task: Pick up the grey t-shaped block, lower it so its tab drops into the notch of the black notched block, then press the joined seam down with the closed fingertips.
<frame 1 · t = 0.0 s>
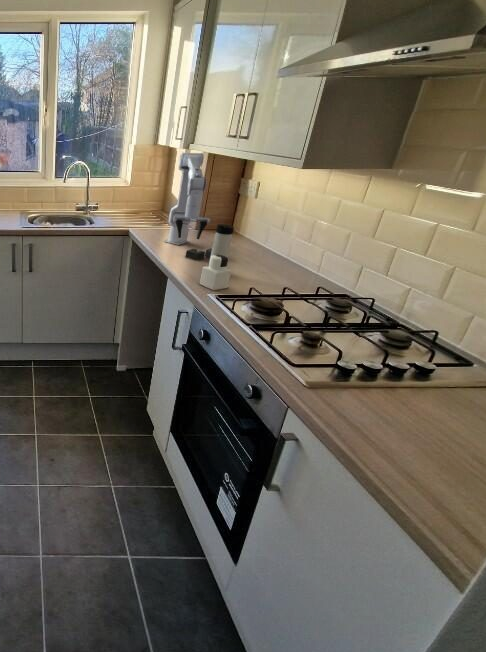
hand: (188, 238, 181), 11 cm above the countertop, tool pointing down, fingers open, 7 cm apart
black notched block: (194, 257, 190), on the countertop
grey t-shaped block: (212, 256, 192), on the countertop
white block with post: (213, 286, 158), on the countertop
travel mug: (215, 272, 173), on the countertop
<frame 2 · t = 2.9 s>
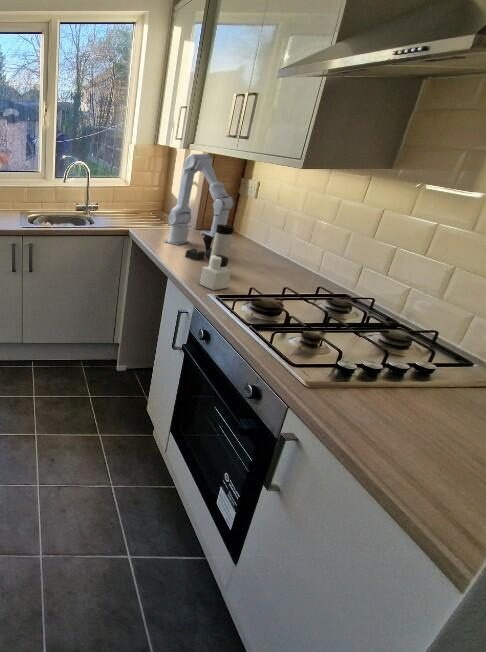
hand: (212, 253, 192), 1 cm above the countertop, tool pointing down, fingers closed on grey t-shaped block, 5 cm apart
grey t-shaped block: (212, 256, 192), on the countertop, touching gripper
everything else where it was.
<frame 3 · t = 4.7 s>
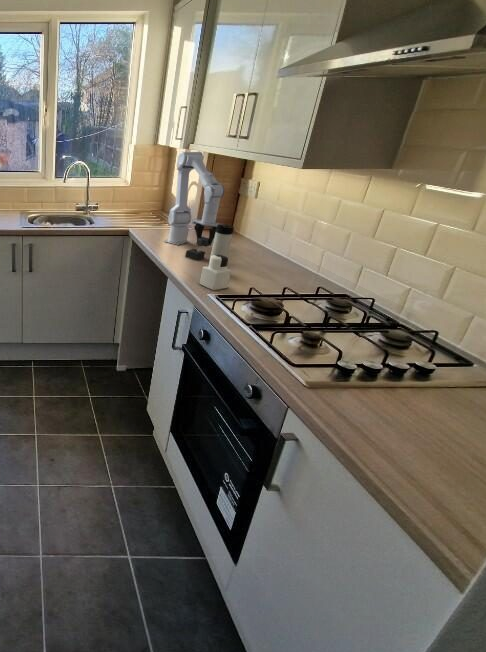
hand: (204, 241, 190), 7 cm above the countertop, tool pointing down, fingers closed on grey t-shaped block, 5 cm apart
grey t-shaped block: (203, 244, 191), point 5 cm above the countertop, touching gripper
everything else where it was.
when the fingers open (1 cm above the countertop, at t = 6.7 s): grey t-shaped block stays where it is, on the countertop.
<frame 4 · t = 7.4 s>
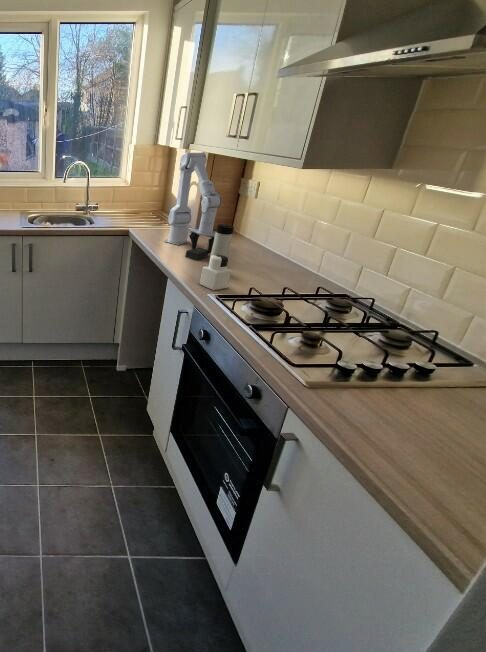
hand: (201, 251, 192), 2 cm above the countertop, tool pointing down, fingers open, 7 cm apart
grey t-shaped block: (200, 255, 193), on the countertop
everything else where it was.
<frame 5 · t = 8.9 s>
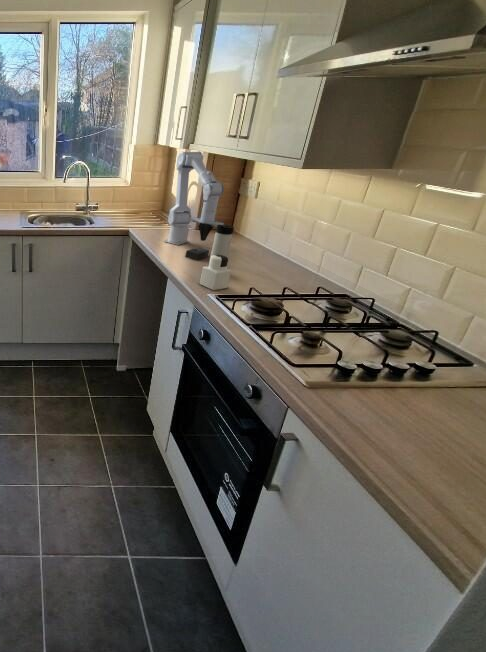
hand: (203, 240, 190), 7 cm above the countertop, tool pointing down, fingers closed
nothing on the countertop moved.
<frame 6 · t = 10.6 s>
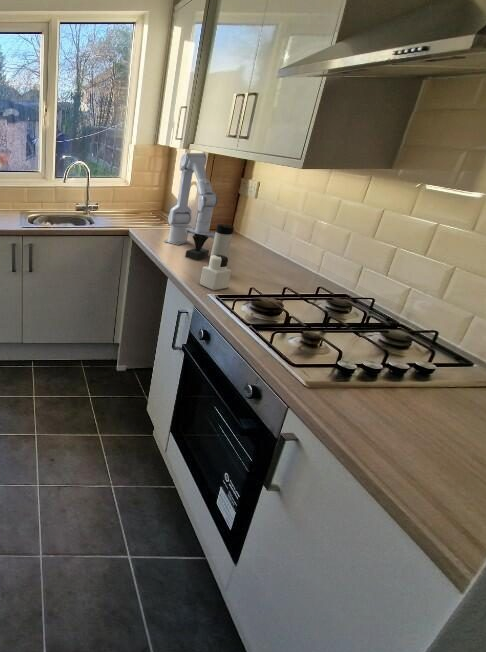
hand: (197, 250, 190), 3 cm above the countertop, tool pointing down, fingers closed, pressing on grey t-shaped block
grey t-shaped block: (200, 255, 193), on the countertop, touching gripper
everything else where it was.
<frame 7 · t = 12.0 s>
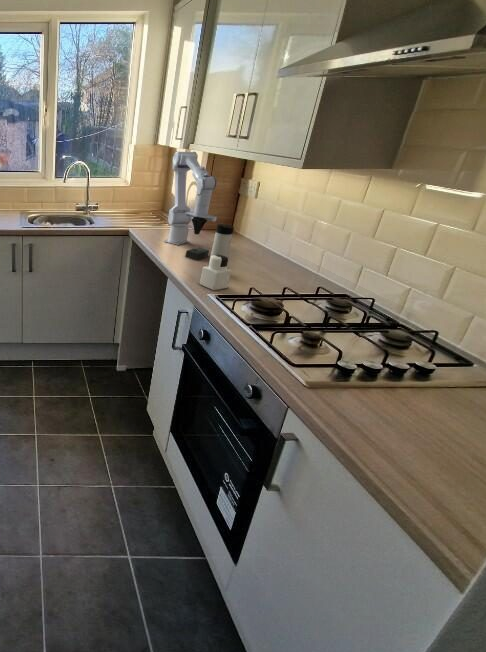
hand: (196, 233, 192), 9 cm above the countertop, tool pointing down, fingers closed
grey t-shaped block: (200, 255, 193), on the countertop
everything else where it was.
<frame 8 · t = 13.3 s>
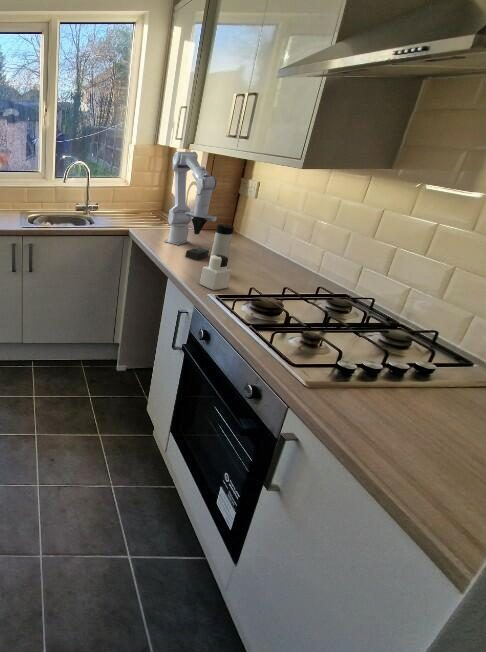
hand: (196, 233, 192), 9 cm above the countertop, tool pointing down, fingers closed
nothing on the countertop moved.
at the end: grey t-shaped block 0.2 cm from the target spot on the countertop beside the black notched block, on the countertop; grey t-shaped block tilted 0°; the gripper is holding nothing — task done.
